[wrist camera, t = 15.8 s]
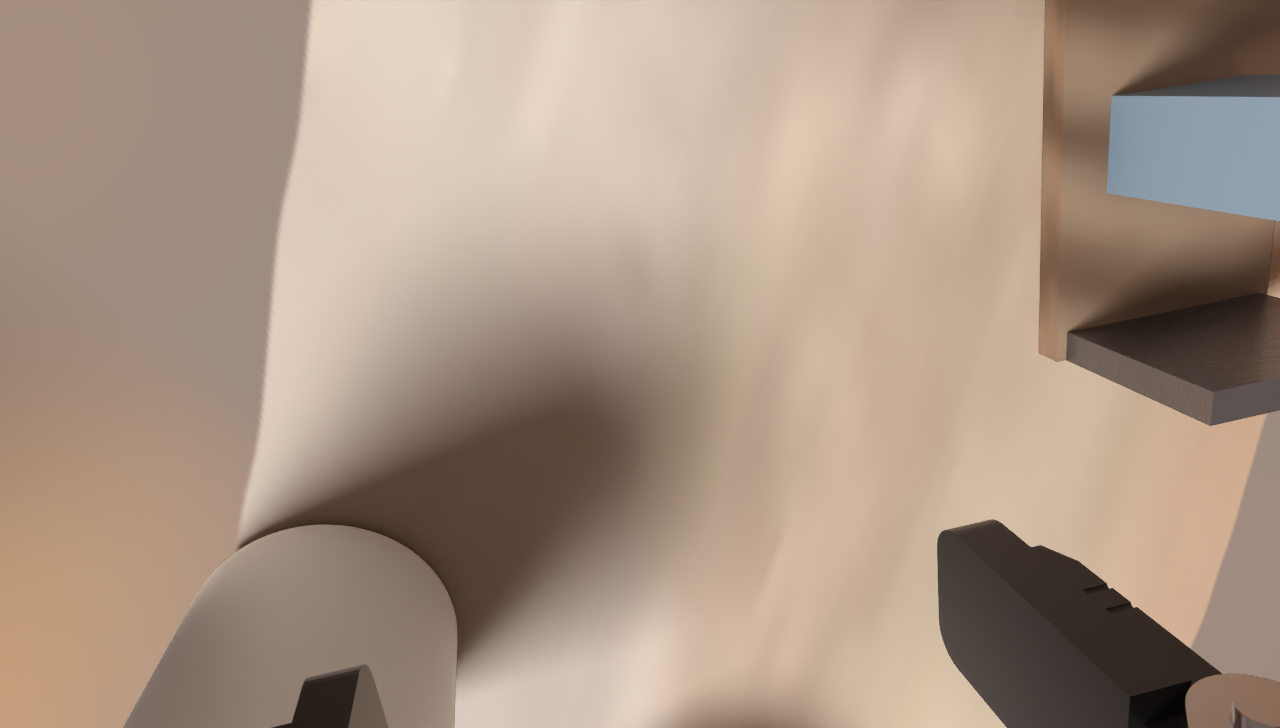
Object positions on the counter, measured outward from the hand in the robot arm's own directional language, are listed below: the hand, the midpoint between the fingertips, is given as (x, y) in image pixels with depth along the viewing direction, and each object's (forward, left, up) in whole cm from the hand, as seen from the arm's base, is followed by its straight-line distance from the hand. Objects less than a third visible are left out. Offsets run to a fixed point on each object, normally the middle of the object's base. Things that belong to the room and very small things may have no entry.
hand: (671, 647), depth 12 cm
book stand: (-1, +31, -28) cm, 42 cm away
